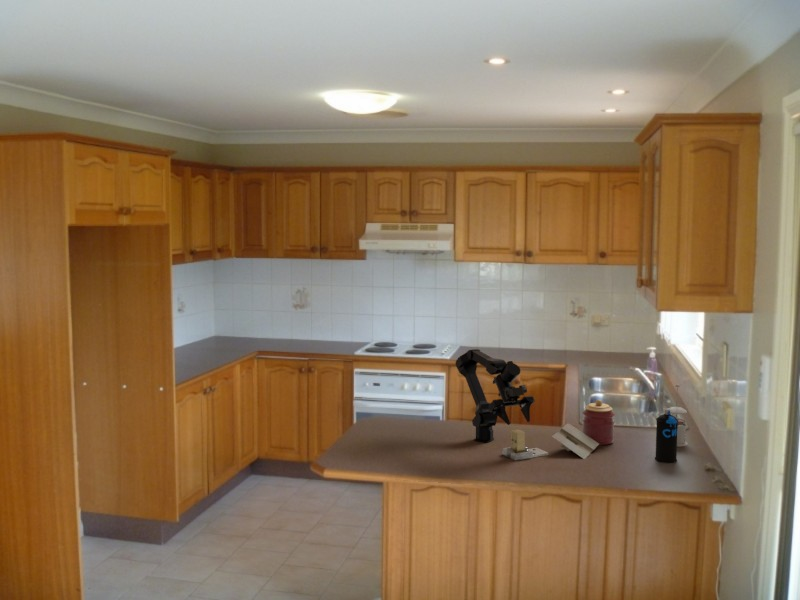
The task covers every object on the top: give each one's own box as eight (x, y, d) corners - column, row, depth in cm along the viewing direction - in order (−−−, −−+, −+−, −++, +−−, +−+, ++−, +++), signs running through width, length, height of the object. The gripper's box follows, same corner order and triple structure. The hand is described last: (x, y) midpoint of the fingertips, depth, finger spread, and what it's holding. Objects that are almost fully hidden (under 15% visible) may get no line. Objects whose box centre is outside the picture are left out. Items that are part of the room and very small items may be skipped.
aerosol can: (650, 457, 307) (651, 407, 305) (667, 455, 310) (669, 405, 308) (664, 463, 300) (666, 412, 298) (681, 461, 302) (683, 410, 300)
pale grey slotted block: (587, 455, 323) (560, 429, 328) (600, 443, 319) (573, 416, 323) (571, 472, 310) (543, 444, 315) (584, 459, 306) (556, 431, 310)
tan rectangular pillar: (510, 455, 311) (510, 430, 309) (518, 454, 312) (518, 429, 311) (516, 458, 306) (517, 433, 305) (524, 457, 308) (525, 432, 307)
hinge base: (513, 460, 303) (513, 452, 303) (501, 454, 311) (501, 446, 311) (549, 455, 310) (549, 447, 310) (536, 449, 318) (536, 441, 318)
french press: (670, 447, 322) (672, 386, 319) (656, 439, 333) (658, 381, 331) (692, 445, 324) (695, 385, 321) (677, 438, 335) (679, 380, 332)
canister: (618, 440, 332) (619, 399, 330) (606, 447, 322) (607, 404, 320) (589, 435, 340) (590, 394, 338) (576, 441, 329) (577, 400, 327)
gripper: (493, 380, 305) (507, 416, 297) (533, 376, 313) (548, 411, 305) (482, 394, 313) (495, 429, 306) (521, 389, 321) (535, 424, 313)
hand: (519, 423), depth 307 cm, fingers open, 9 cm apart
